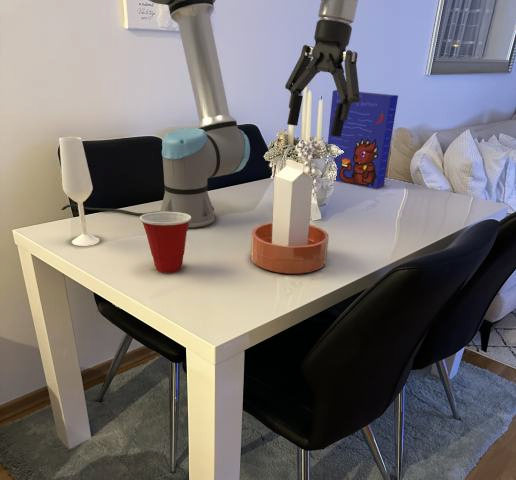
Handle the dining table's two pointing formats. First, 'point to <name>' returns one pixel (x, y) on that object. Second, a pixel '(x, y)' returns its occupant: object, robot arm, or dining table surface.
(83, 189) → the champagne flute
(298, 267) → the bowl
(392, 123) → the cereal box
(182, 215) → the plastic cup
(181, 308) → the dining table surface
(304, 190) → the milk
